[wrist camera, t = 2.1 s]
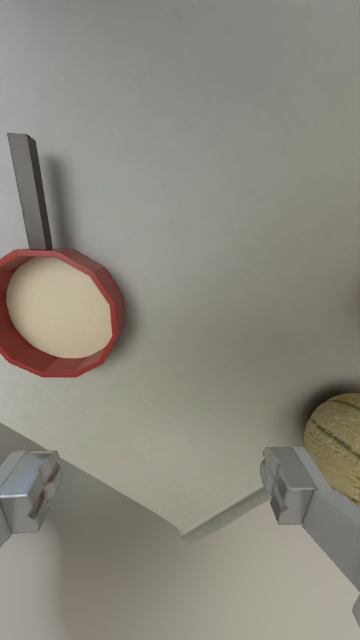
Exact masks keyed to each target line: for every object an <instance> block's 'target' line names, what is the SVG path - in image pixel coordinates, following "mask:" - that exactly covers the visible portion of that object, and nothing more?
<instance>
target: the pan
mask: <svg viewBox="0 0 360 640" xmlns="http://www.w3.org/2000/svg"><path fill="white" fill-rule="evenodd" d="M7 135H8V140H9V145H10V150H11V155H12V160H13V166H14V171H15V176H16V181H17V186H18V191H19V197H20V202H21V207H22V212H23V217H24V222H25V228H26V233H27V238H28V243H29V248H30V249H16V250H14V251H12V252H10V253H9V254H7V255H6V256H4V257H3V258H1V259H0V353H1V354H2V356H3V357H4V358H5V359H6V360H7V361H8V362H10V363H11V364H13V365H15V366H18V367H20V368H22V369H25V370H27V371H29V372H31V373H34V374H36V375H38V376H41V377H78V376H80V375H82V374H84V373H85V372H87V371H89V370H91V369H93V368H95V367H97V366H99V365H101V364H103V363H104V361H105V359H106V357H107V356H108V354H109V352H110V350H111V349H112V347H113V345H114V343H115V342H116V340H117V338H118V336H119V335H120V333H121V331H122V329H123V327H124V326H125V317H124V300H123V294H122V293H121V291H120V290H119V288H118V287H117V285H116V284H115V282H114V281H113V279H112V277H111V276H110V274H109V273H108V271H107V270H106V268H105V267H103V266H102V265H100V264H98V263H96V262H95V261H93V260H91V259H89V258H88V257H86V256H84V255H83V254H81V253H79V252H77V251H76V250H73V249H53V247H52V241H51V235H50V228H49V222H48V216H47V209H46V203H45V197H44V191H43V184H42V178H41V172H40V165H39V159H38V153H37V147H36V141H35V140H34V139H33V138H31V137H30V136H29V135H27V134H13V133H7Z"/></svg>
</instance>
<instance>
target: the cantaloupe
mask: <svg viewBox="0 0 360 640" xmlns="http://www.w3.org/2000/svg"><path fill="white" fill-rule="evenodd" d="M304 447H305V449H306V450H307V452H308V453H309V455H310V456H311V458H312V459H313V461H314V462H315V463H316V465H317V466H318V468H319V469H320V471H321V472H322V474H323V475H324V477H325V478H326V480H327V481H328V483H329V484H330V486H331V487H332V489H333V490H338V491H339V492H341V493H342V494H343V495H345V496H346V497H347V498H349V499H350V500H351V501H352V502H354V503H355V504H356V505H358V506H359V507H360V393H346V394H342V395H338V396H334V397H332V398H330V399H328V400H327V401H325V402H324V403H322V404H320V405H319V406H318V407H317V408H316V409H315V411H314V412H313V413H312V415H311V417H310V419H309V420H308V422H307V424H306V427H305V431H304Z"/></svg>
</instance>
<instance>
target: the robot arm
mask: <svg viewBox="0 0 360 640" xmlns="http://www.w3.org/2000/svg"><path fill="white" fill-rule="evenodd" d="M263 456H264V458H265V459H264V460H263V461H262V462H261V466H260V473H261V479H262V483H263V486H264V489H265V491H267V492H268V493H269V494H270V495H271V496H272V497H271V502H270V504H271V507H272V509H273V512H274V514H275V517H276V520H277V522H278V524H279V525H302V527H303V528H304V529H305V530H306V531H307V533H308V534H309V535H310V536H311V537H312V538H313V539H314V541H315V542H316V543H317V544H318V545H319V546H320V547H321V548H322V549H323V551H324V552H325V553H326V554H327V555H328V556H329V558H330V559H331V560H332V561H333V562H334V563H335V564H336V566H337V567H338V568H339V569H340V570H341V571H342V572H343V573H344V574H345V576H346V577H347V578H348V579H349V580H350V581H351V583H352V584H353V585H354V586H355V587H356V588H357V589H358V591H359V592H360V507H359V506H358V505H356V504H355V503H354V502H352V501H351V500H350V499H349V498H347V497H346V496H345V495H343V494H342V493H341V492H339V491H338V490H333V489H332V487H331V486H330V484H329V483H328V481H327V480H326V478H325V477H324V475H323V474H322V472H321V471H320V469H319V468H318V466H317V465H316V463H315V462H314V461H313V459H312V458H311V456H310V455H309V453H308V452H307V450H306V449H305V448H304V447H266V448H265V449H264V451H263ZM58 459H59V455H58V451H38V450H34V451H33V450H23V451H22V450H20V451H19V450H15V451H14V452H12V453H11V454H10V455H9V456H8V457H7V458H6V460H5V461H4V463H3V464H2V465H1V466H0V547H1V546H2V545H3V544H4V543H5V542H6V541H7V540H8V539H9V538H10V537H11V534H18V533H33V532H38V531H39V529H40V527H41V525H42V522H43V520H44V518H45V516H46V514H47V512H48V510H49V508H48V501H49V500H50V499H52V498H53V497H54V496H55V494H56V492H57V490H58V488H59V485H60V481H61V477H62V468H61V465H60V464H58V463H57V460H58ZM352 612H353V614H354V617H355V618H356V621H357V623H358V625H359V627H360V595H359V597H358V598H357V600H356V602H355V604H354V606H353V611H352Z"/></svg>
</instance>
